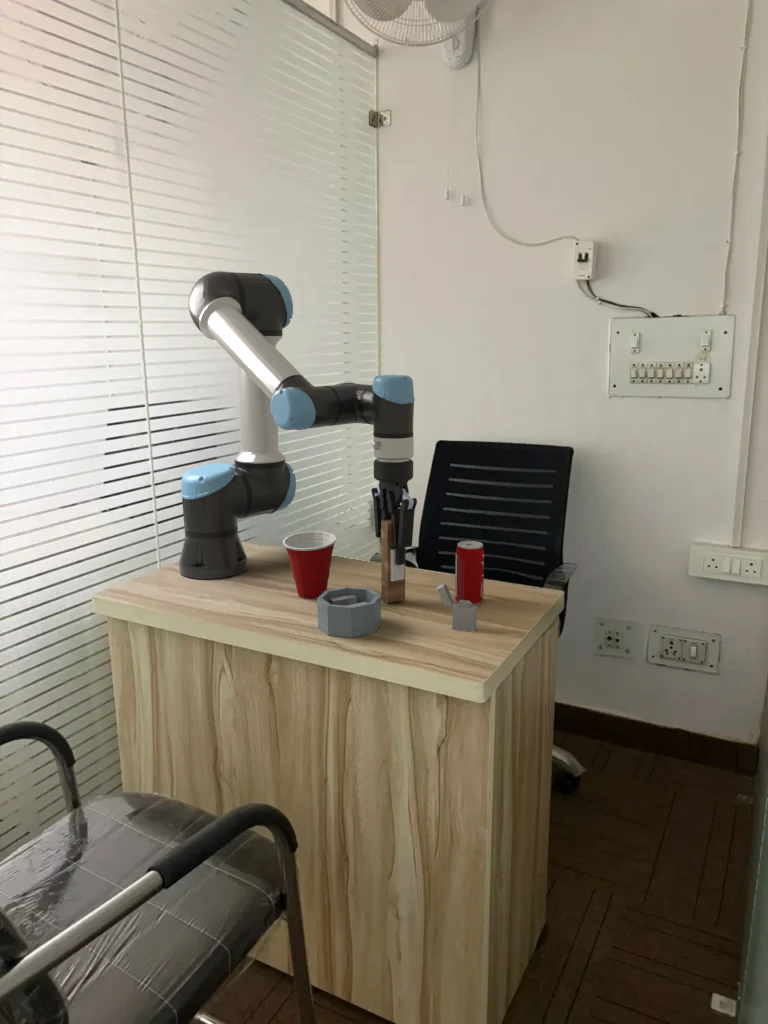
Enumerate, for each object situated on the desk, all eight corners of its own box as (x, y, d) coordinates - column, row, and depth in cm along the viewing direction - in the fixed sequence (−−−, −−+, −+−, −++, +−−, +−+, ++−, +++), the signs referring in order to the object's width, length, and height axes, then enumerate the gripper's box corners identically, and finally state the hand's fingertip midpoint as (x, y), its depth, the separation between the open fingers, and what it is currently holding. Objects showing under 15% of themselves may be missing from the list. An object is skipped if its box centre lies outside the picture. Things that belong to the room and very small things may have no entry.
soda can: (486, 605, 144) (487, 546, 141) (458, 607, 143) (459, 547, 141) (479, 596, 149) (480, 538, 147) (452, 597, 149) (453, 539, 146)
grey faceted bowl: (310, 621, 137) (309, 593, 135) (361, 611, 142) (361, 583, 140) (336, 641, 128) (335, 611, 126) (389, 629, 133) (389, 600, 131)
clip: (330, 619, 136) (329, 598, 135) (353, 614, 138) (352, 594, 137) (345, 630, 131) (345, 609, 130) (369, 625, 133) (369, 604, 132)
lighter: (476, 628, 133) (477, 586, 131) (474, 632, 131) (475, 589, 129) (439, 623, 135) (439, 581, 133) (436, 626, 134) (436, 584, 132)
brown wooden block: (381, 599, 146) (381, 520, 142) (398, 595, 148) (399, 517, 144) (387, 602, 144) (387, 523, 140) (405, 599, 146) (405, 520, 142)
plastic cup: (274, 598, 149) (271, 541, 146) (304, 582, 158) (302, 528, 156) (319, 606, 144) (317, 547, 141) (347, 590, 153) (346, 534, 151)
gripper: (356, 454, 144) (357, 569, 150) (397, 466, 131) (397, 592, 137) (390, 451, 148) (390, 564, 153) (432, 462, 135) (431, 585, 140)
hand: (393, 577), depth 145 cm, fingers closed on brown wooden block, 2 cm apart
